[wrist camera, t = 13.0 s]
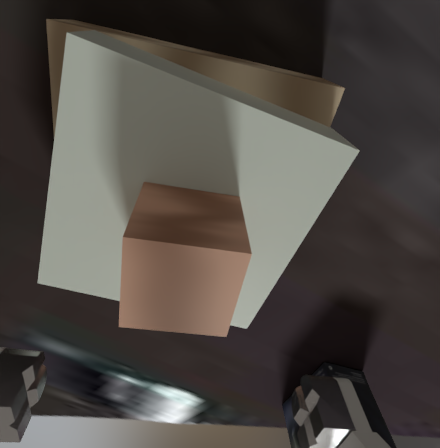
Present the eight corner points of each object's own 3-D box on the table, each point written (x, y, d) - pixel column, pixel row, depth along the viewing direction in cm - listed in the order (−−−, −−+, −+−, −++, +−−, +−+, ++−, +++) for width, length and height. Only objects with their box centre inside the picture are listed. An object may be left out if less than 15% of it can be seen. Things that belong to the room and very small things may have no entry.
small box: (321, 359, 38) (358, 460, 29) (364, 369, 40) (411, 468, 31) (278, 404, 43) (299, 502, 34) (318, 412, 45) (347, 507, 36)
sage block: (331, 128, 19) (359, 150, 16) (240, 288, 26) (247, 328, 23) (95, 30, 16) (66, 32, 12) (61, 244, 23) (37, 282, 19)
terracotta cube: (239, 196, 17) (251, 254, 12) (221, 268, 19) (226, 336, 15) (144, 181, 16) (122, 237, 12) (138, 258, 19) (118, 326, 14)
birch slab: (319, 76, 22) (344, 88, 18) (257, 257, 30) (266, 291, 26) (76, 19, 19) (46, 19, 15) (81, 233, 28) (62, 267, 24)
